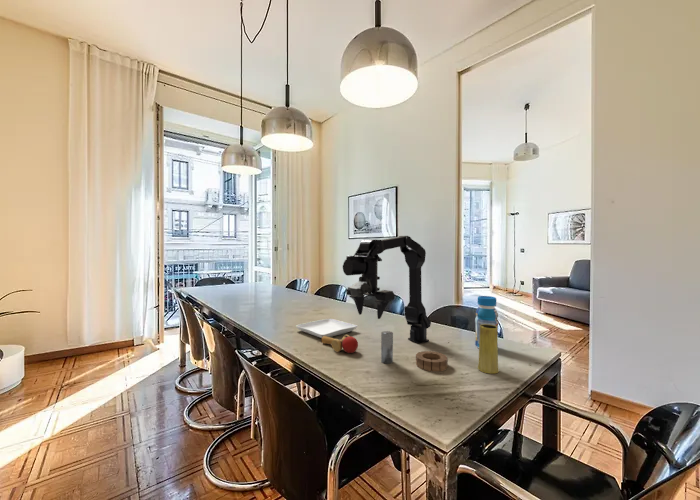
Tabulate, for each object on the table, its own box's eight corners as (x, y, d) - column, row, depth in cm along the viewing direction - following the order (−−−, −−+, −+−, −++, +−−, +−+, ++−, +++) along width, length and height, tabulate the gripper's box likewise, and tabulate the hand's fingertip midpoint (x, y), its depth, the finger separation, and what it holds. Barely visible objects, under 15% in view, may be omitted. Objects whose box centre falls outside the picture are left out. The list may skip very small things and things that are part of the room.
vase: (497, 375, 94) (498, 329, 93) (476, 371, 97) (476, 326, 97) (499, 369, 99) (500, 325, 99) (479, 365, 102) (480, 322, 102)
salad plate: (294, 331, 141) (294, 324, 141) (329, 324, 155) (329, 317, 155) (322, 342, 125) (322, 334, 125) (358, 332, 140) (358, 325, 140)
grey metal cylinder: (387, 358, 107) (388, 330, 107) (395, 362, 104) (395, 333, 104) (378, 360, 105) (379, 332, 105) (385, 364, 102) (386, 335, 102)
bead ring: (431, 357, 108) (431, 349, 108) (453, 367, 100) (453, 358, 100) (409, 363, 103) (410, 354, 103) (431, 373, 95) (431, 364, 95)
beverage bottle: (483, 352, 115) (484, 299, 114) (470, 344, 123) (470, 295, 123) (503, 350, 116) (503, 298, 116) (488, 343, 125) (489, 295, 124)
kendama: (315, 349, 121) (347, 354, 108) (316, 332, 122) (348, 336, 109) (330, 348, 126) (362, 353, 113) (331, 332, 127) (362, 335, 115)
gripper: (336, 273, 111) (335, 315, 112) (374, 277, 98) (374, 325, 98) (357, 271, 119) (356, 311, 120) (395, 275, 106) (395, 319, 106)
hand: (369, 316), depth 111 cm, fingers open, 9 cm apart
